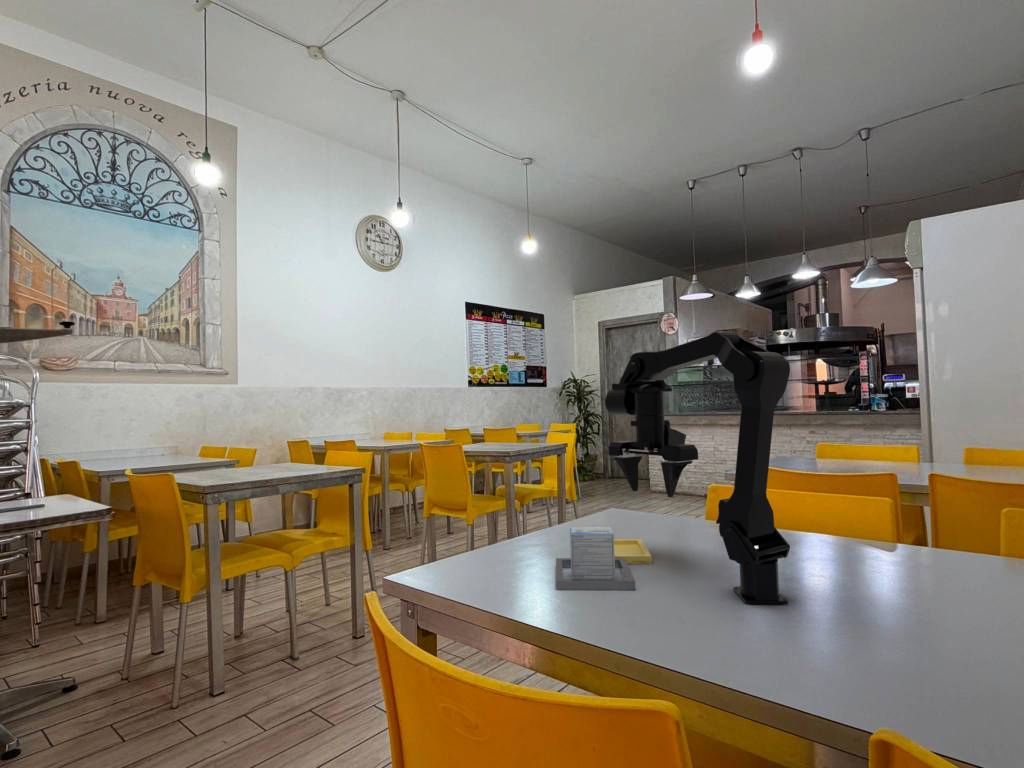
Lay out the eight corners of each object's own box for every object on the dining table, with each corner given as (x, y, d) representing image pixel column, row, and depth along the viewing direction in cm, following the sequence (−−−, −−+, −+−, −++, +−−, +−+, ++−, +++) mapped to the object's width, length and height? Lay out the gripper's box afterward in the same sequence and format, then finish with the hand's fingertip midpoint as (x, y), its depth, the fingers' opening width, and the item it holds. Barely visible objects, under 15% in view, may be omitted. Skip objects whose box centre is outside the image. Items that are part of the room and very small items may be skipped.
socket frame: (635, 589, 93) (635, 581, 93) (556, 589, 94) (556, 580, 94) (625, 565, 106) (625, 558, 106) (556, 565, 107) (556, 558, 107)
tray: (651, 563, 107) (651, 556, 107) (605, 563, 108) (605, 556, 108) (641, 546, 120) (641, 539, 120) (600, 546, 121) (599, 539, 121)
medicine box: (613, 573, 102) (612, 526, 102) (615, 581, 97) (614, 532, 98) (571, 573, 103) (569, 527, 103) (571, 581, 98) (570, 532, 98)
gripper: (715, 414, 106) (718, 495, 105) (643, 413, 121) (645, 484, 121) (676, 416, 100) (679, 502, 99) (605, 415, 115) (608, 490, 115)
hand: (652, 494), depth 108 cm, fingers open, 9 cm apart
